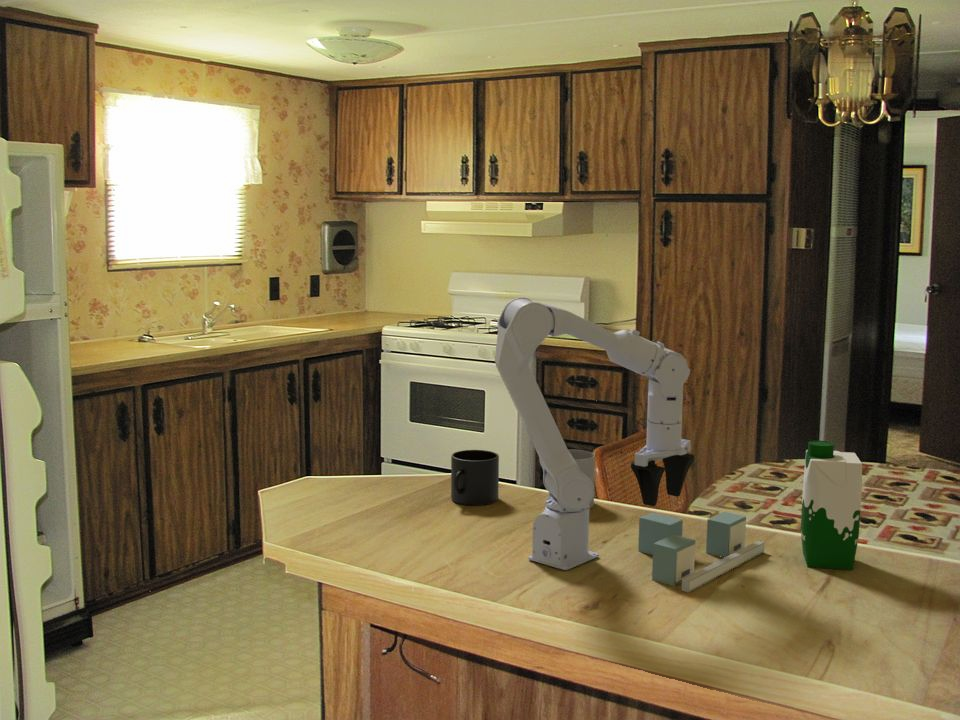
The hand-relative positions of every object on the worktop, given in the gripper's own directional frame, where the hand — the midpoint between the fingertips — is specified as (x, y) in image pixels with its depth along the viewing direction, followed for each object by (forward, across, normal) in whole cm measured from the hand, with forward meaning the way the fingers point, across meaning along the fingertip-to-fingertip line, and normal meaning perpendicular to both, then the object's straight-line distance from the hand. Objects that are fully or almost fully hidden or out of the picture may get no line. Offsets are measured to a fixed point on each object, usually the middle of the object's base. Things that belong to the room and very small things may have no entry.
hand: (661, 500), depth 174 cm
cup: (+9, +13, +28) cm, 32 cm away
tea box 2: (+9, -9, -8) cm, 15 cm away
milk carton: (+9, +15, -23) cm, 29 cm away
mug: (+9, +1, +44) cm, 45 cm away
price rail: (+9, 0, -12) cm, 15 cm away
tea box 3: (+9, +8, -8) cm, 15 cm away
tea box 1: (+9, 0, 0) cm, 9 cm away
